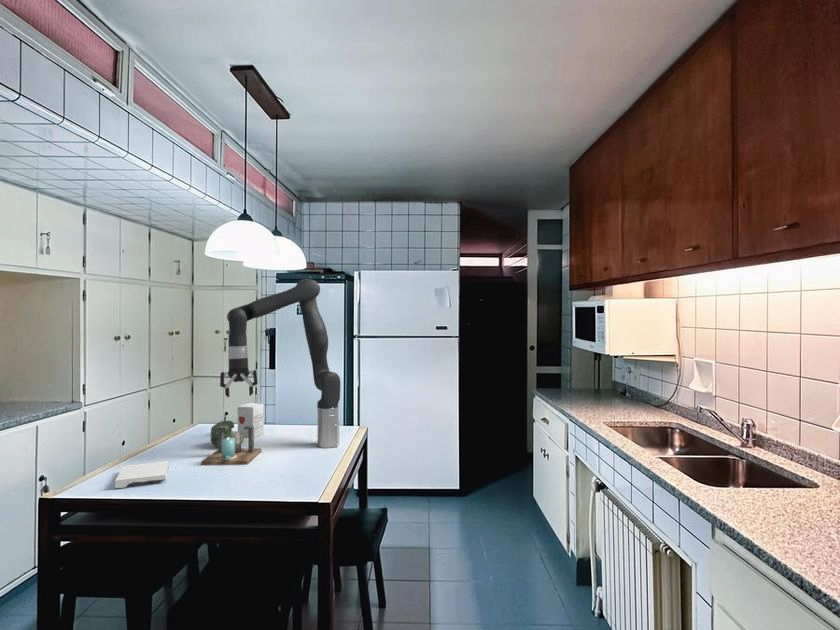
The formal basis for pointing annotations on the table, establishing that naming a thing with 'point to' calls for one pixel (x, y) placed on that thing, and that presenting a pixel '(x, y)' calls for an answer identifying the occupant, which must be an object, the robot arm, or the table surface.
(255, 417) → the supplement box
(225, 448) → the teal rounded body
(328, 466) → the table surface
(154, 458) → the table surface
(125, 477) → the food packaging
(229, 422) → the vegetable
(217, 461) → the board with gray uprights
